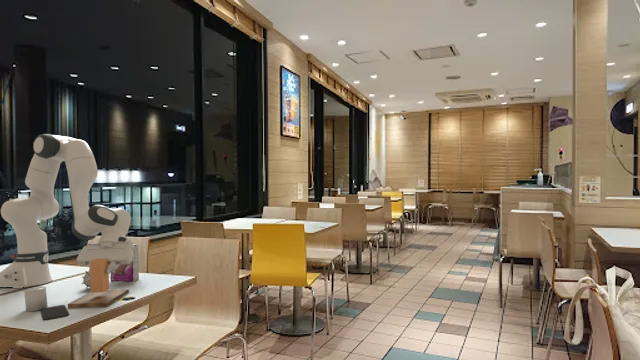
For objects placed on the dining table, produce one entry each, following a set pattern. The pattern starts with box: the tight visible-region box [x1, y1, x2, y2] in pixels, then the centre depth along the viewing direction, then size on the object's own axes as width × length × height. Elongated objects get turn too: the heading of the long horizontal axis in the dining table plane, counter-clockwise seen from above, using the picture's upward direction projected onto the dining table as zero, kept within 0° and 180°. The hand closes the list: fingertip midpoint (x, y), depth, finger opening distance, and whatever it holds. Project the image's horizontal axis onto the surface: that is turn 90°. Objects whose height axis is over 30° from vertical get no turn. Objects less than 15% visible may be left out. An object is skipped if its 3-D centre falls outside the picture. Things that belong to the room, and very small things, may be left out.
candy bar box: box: [110, 243, 140, 283], centre depth 186 cm, size 11×5×16 cm, turn 84°
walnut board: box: [67, 288, 130, 309], centre depth 156 cm, size 14×18×2 cm
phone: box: [40, 304, 70, 321], centre depth 142 cm, size 7×1×15 cm
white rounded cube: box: [23, 286, 48, 312], centre depth 147 cm, size 6×6×7 cm
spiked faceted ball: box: [81, 270, 91, 289], centre depth 174 cm, size 9×8×10 cm
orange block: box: [89, 258, 110, 293], centre depth 156 cm, size 5×5×12 cm
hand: (98, 273), depth 155 cm, fingers closed on orange block, 5 cm apart
